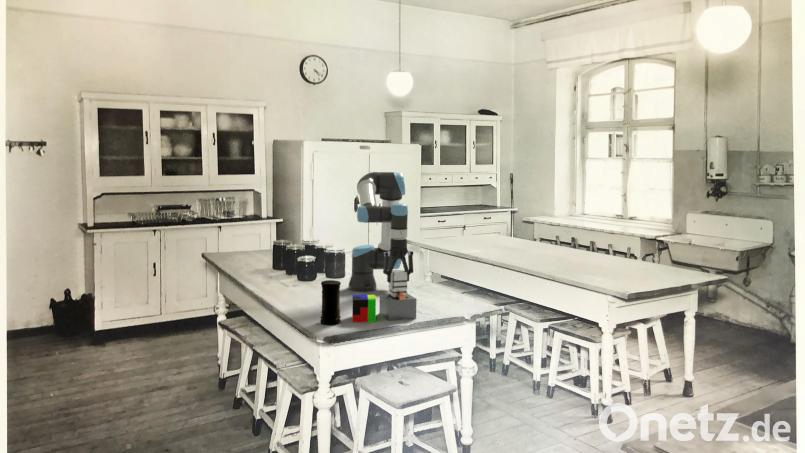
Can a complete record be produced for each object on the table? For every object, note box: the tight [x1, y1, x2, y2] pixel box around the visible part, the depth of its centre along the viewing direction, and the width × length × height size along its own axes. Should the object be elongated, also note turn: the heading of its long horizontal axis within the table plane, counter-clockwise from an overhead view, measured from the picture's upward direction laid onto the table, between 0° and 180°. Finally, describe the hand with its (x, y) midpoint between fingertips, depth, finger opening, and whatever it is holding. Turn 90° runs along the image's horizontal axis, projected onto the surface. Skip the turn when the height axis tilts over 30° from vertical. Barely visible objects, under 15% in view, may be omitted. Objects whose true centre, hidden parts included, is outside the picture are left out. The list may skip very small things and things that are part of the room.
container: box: [319, 279, 342, 326], centre depth 285 cm, size 9×9×18 cm
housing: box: [378, 292, 418, 322], centre depth 298 cm, size 13×13×12 cm
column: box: [388, 269, 408, 299], centre depth 298 cm, size 6×6×20 cm
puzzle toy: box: [351, 294, 377, 323], centre depth 292 cm, size 10×10×10 cm
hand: (398, 288), depth 297 cm, fingers closed on column, 6 cm apart
